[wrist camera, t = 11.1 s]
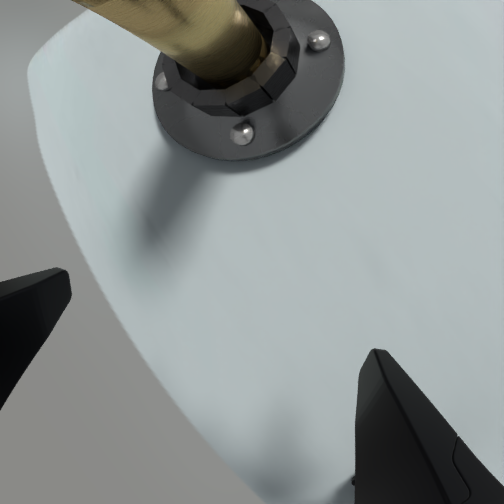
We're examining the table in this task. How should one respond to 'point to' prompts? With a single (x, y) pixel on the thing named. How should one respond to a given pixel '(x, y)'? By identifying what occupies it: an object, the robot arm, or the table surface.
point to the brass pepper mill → (193, 34)
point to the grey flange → (258, 87)
